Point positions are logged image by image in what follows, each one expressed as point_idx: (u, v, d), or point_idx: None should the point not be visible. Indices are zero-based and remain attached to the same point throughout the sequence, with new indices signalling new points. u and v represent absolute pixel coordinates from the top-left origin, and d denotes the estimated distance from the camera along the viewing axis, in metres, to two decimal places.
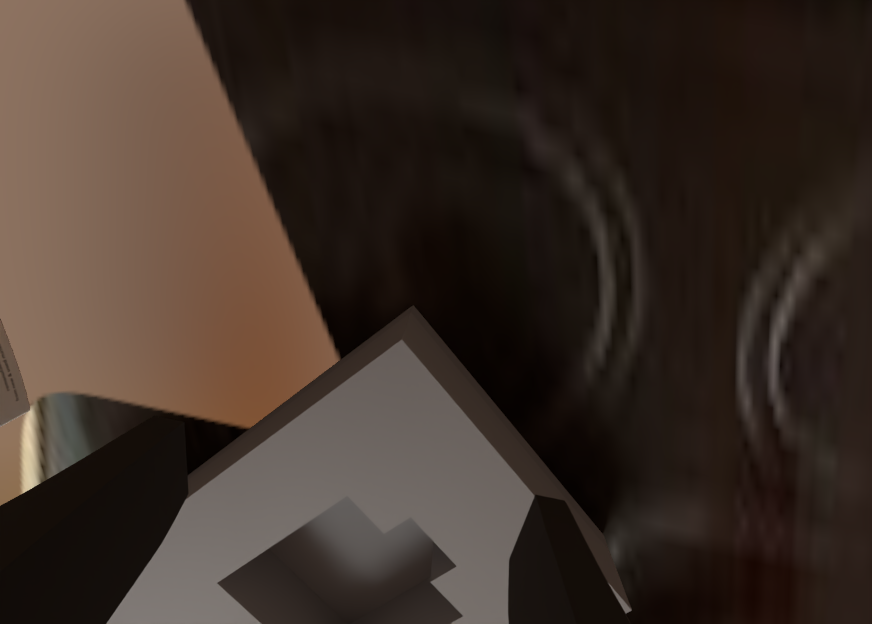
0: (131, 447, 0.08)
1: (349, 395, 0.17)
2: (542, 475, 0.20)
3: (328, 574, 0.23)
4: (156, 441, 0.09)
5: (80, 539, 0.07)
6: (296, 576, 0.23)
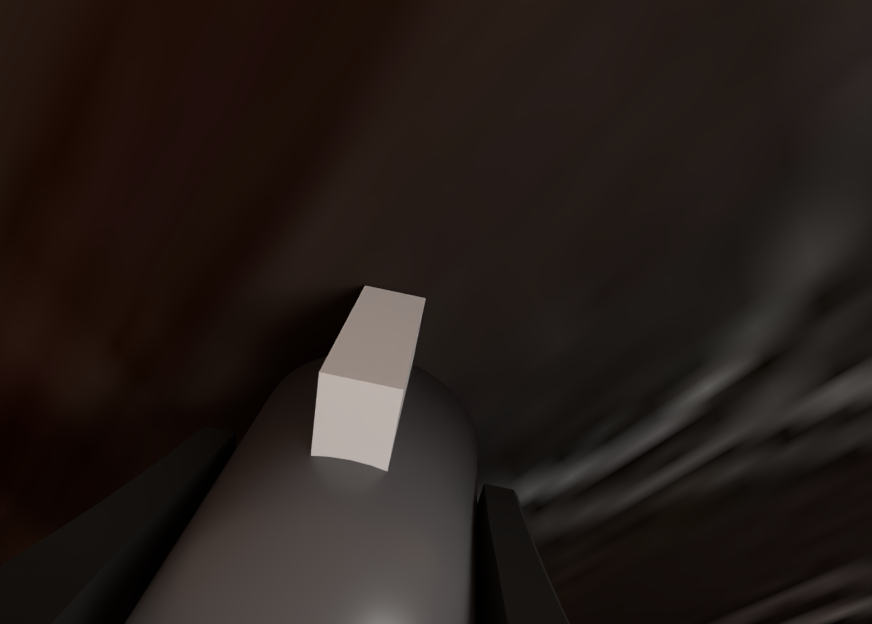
0: (189, 459, 0.08)
1: None
2: None
3: None
4: (212, 453, 0.09)
5: (148, 553, 0.07)
6: None
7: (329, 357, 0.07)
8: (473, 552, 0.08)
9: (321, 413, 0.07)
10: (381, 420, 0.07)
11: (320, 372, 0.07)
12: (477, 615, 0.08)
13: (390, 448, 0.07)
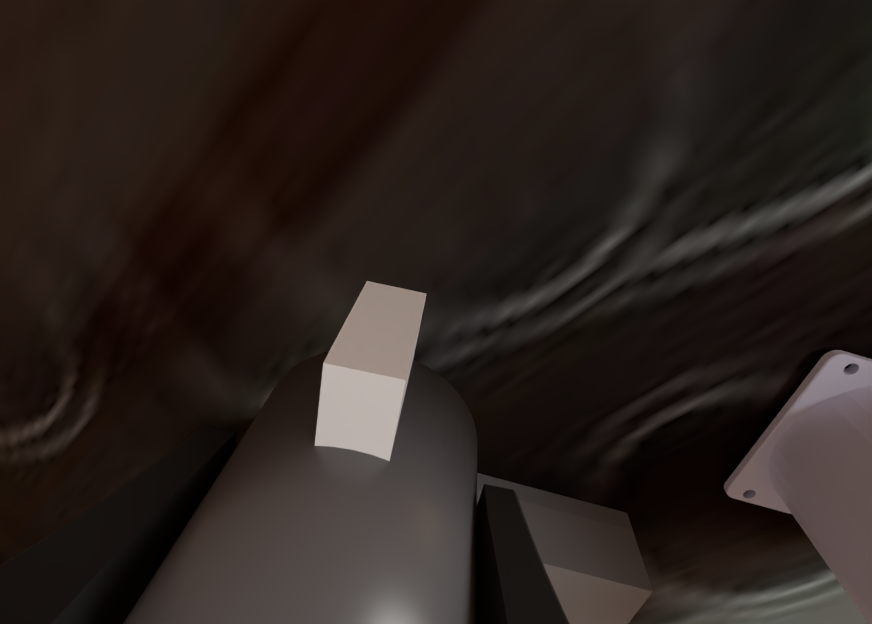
0: (189, 459, 0.08)
1: None
2: None
3: None
4: (212, 453, 0.09)
5: (147, 553, 0.07)
6: None
7: (332, 349, 0.07)
8: (473, 541, 0.08)
9: (325, 403, 0.07)
10: (383, 410, 0.07)
11: (324, 363, 0.07)
12: (477, 615, 0.08)
13: (392, 438, 0.07)
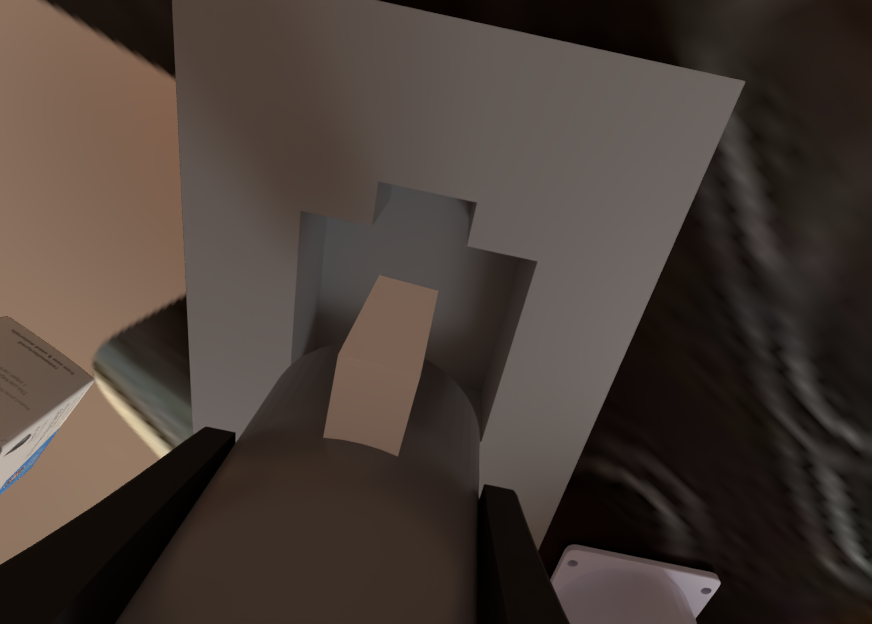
0: (189, 459, 0.08)
1: (194, 84, 0.13)
2: None
3: None
4: (212, 453, 0.09)
5: (147, 553, 0.07)
6: None
7: (347, 341, 0.07)
8: (476, 541, 0.08)
9: (337, 396, 0.07)
10: (395, 405, 0.07)
11: (339, 355, 0.07)
12: (477, 615, 0.08)
13: (402, 433, 0.07)
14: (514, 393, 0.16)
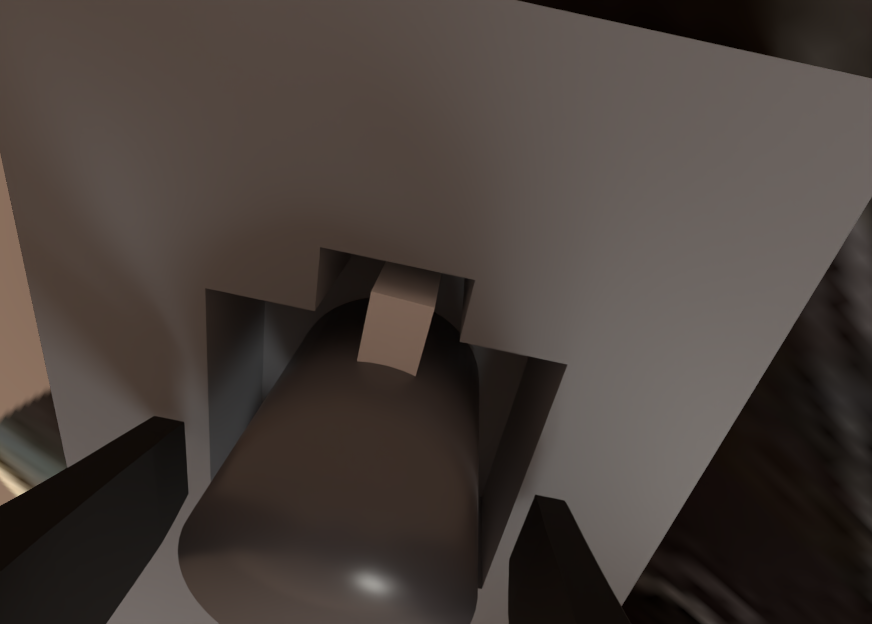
0: (131, 447, 0.08)
1: (16, 96, 0.08)
2: None
3: None
4: (156, 441, 0.09)
5: (80, 539, 0.07)
6: None
7: (376, 283, 0.09)
8: (477, 448, 0.10)
9: (369, 325, 0.09)
10: (415, 333, 0.09)
11: (371, 292, 0.09)
12: None
13: (419, 357, 0.09)
14: None
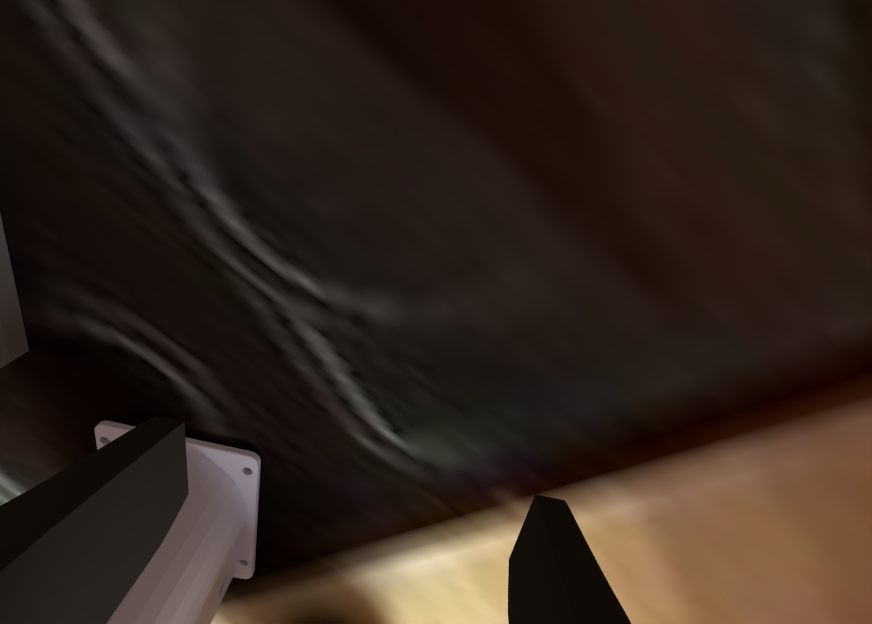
0: (131, 447, 0.08)
1: None
2: None
3: None
4: (156, 441, 0.09)
5: (80, 539, 0.07)
6: None
7: None
8: None
9: None
10: None
11: None
12: None
13: None
14: None
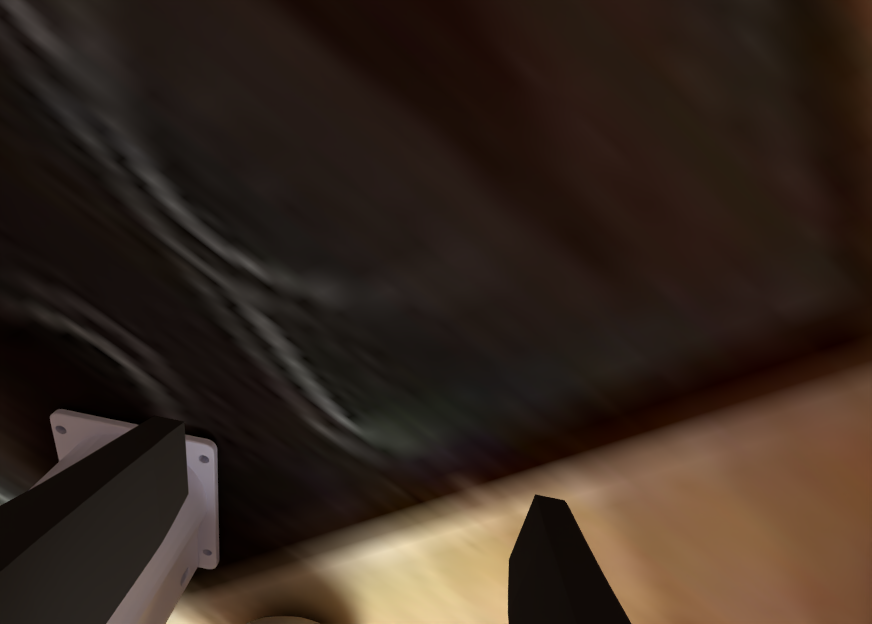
0: (131, 447, 0.08)
1: None
2: None
3: None
4: (156, 441, 0.09)
5: (80, 539, 0.07)
6: None
7: None
8: None
9: None
10: None
11: None
12: None
13: None
14: None
